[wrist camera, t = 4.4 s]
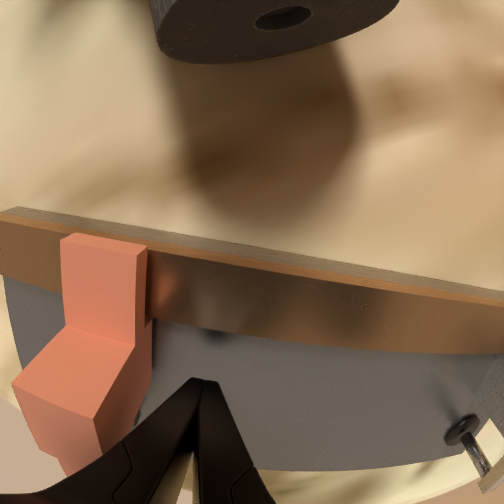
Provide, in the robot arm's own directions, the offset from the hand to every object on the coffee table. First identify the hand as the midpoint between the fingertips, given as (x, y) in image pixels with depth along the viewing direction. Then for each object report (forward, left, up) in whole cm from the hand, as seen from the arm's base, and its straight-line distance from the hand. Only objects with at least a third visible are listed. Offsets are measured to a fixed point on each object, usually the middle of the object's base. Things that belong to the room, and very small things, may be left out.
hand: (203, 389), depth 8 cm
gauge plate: (-3, +1, -3) cm, 4 cm away
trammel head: (+3, 0, -1) cm, 3 cm away
